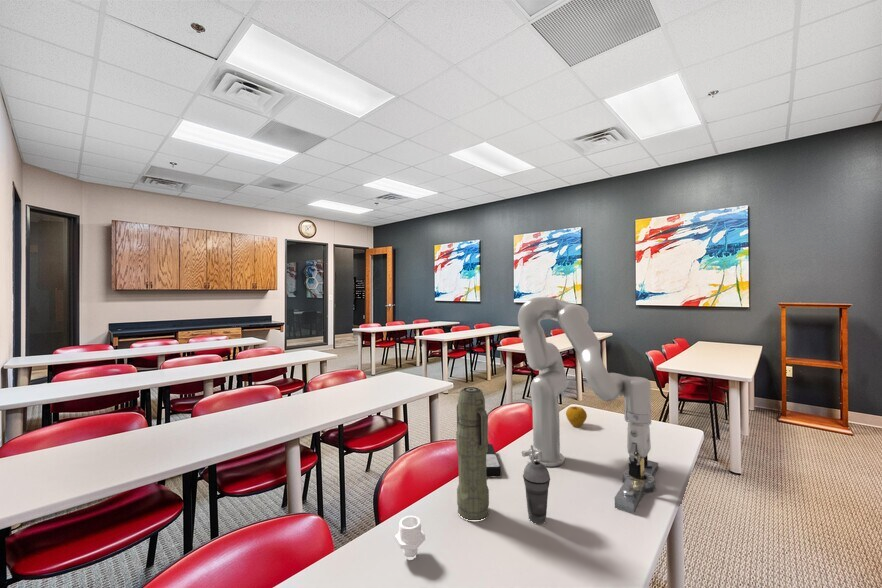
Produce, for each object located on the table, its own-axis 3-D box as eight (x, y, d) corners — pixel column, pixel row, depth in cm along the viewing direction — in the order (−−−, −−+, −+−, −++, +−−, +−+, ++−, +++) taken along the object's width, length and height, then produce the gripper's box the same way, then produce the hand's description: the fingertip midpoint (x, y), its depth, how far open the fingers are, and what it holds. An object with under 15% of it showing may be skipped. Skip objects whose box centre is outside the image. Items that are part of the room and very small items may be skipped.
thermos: (478, 529, 96) (476, 396, 96) (447, 509, 105) (445, 388, 104) (499, 515, 102) (497, 390, 101) (469, 497, 110) (467, 382, 110)
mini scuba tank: (546, 531, 95) (545, 454, 95) (519, 522, 99) (518, 448, 98) (554, 516, 101) (553, 444, 101) (528, 508, 105) (527, 439, 105)
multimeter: (492, 452, 142) (492, 440, 142) (501, 478, 123) (501, 463, 123) (458, 453, 142) (458, 440, 142) (462, 479, 123) (462, 464, 123)
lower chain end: (651, 496, 110) (651, 488, 110) (620, 486, 115) (620, 479, 115) (664, 468, 126) (664, 462, 126) (636, 461, 132) (636, 455, 132)
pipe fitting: (390, 560, 85) (389, 526, 85) (408, 542, 91) (408, 510, 91) (412, 570, 82) (411, 535, 82) (430, 551, 88) (429, 518, 88)
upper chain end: (641, 517, 100) (641, 503, 100) (607, 505, 105) (607, 492, 105) (656, 484, 116) (656, 472, 116) (627, 475, 122) (627, 464, 122)
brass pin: (639, 489, 114) (638, 460, 114) (630, 484, 117) (630, 456, 117) (646, 487, 115) (646, 458, 115) (638, 482, 118) (637, 454, 118)
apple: (585, 423, 171) (585, 404, 171) (588, 430, 162) (588, 410, 162) (565, 421, 173) (565, 402, 173) (567, 428, 164) (567, 408, 164)
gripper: (645, 427, 107) (645, 485, 107) (656, 412, 120) (657, 463, 120) (617, 421, 112) (618, 477, 112) (631, 407, 125) (632, 457, 125)
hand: (638, 470), depth 116 cm, fingers open, 9 cm apart
